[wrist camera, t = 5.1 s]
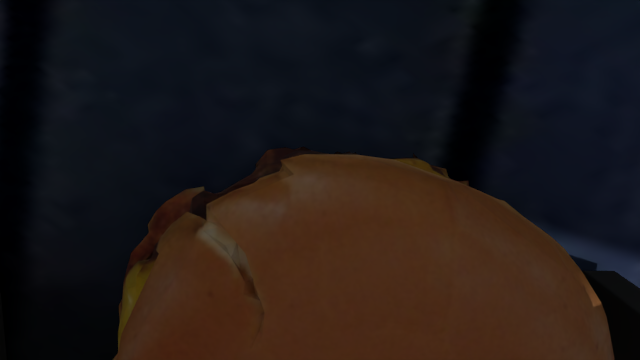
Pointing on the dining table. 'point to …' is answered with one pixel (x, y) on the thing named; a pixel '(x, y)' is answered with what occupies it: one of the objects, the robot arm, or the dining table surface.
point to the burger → (353, 271)
